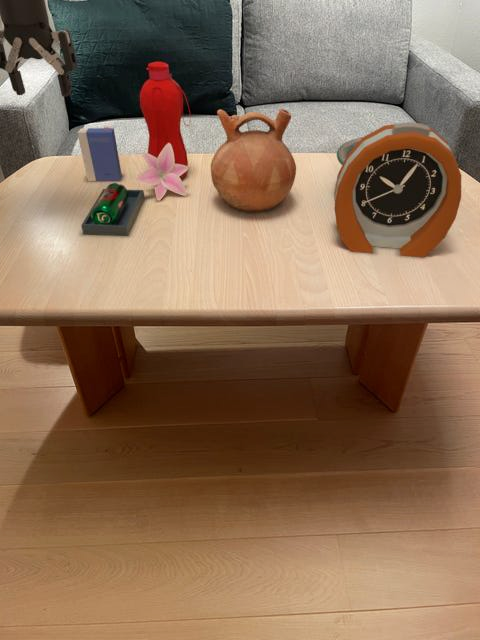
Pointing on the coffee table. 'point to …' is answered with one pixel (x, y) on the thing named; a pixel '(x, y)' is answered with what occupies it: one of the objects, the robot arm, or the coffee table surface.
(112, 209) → the soda can
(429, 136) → the alarm clock
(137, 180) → the lily
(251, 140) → the jug
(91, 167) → the walkman
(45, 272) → the coffee table surface
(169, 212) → the coffee table surface
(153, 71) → the water bottle
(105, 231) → the tray
